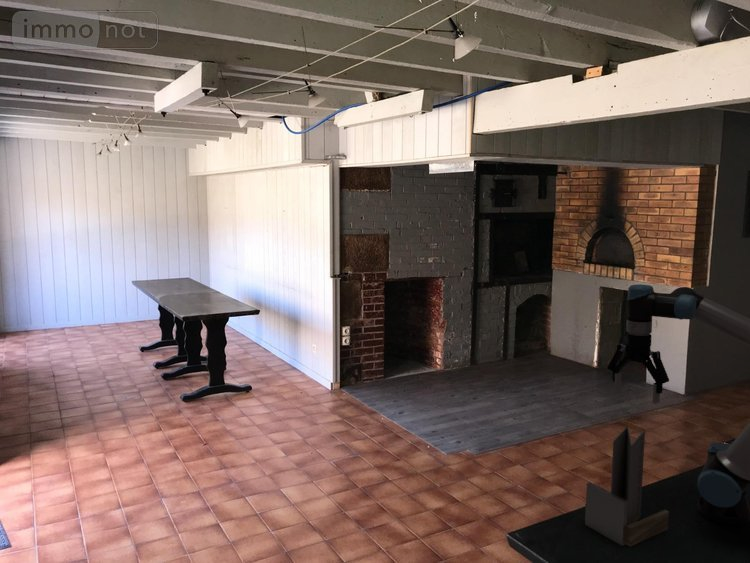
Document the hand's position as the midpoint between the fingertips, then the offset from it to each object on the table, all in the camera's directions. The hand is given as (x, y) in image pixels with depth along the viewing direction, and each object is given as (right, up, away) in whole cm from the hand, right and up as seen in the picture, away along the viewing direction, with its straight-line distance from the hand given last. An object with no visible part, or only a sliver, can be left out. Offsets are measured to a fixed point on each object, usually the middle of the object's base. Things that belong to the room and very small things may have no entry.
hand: (636, 397), depth 202 cm
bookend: (-14, -41, -10) cm, 44 cm away
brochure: (-5, -40, -4) cm, 41 cm away
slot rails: (-5, -40, -5) cm, 40 cm away
